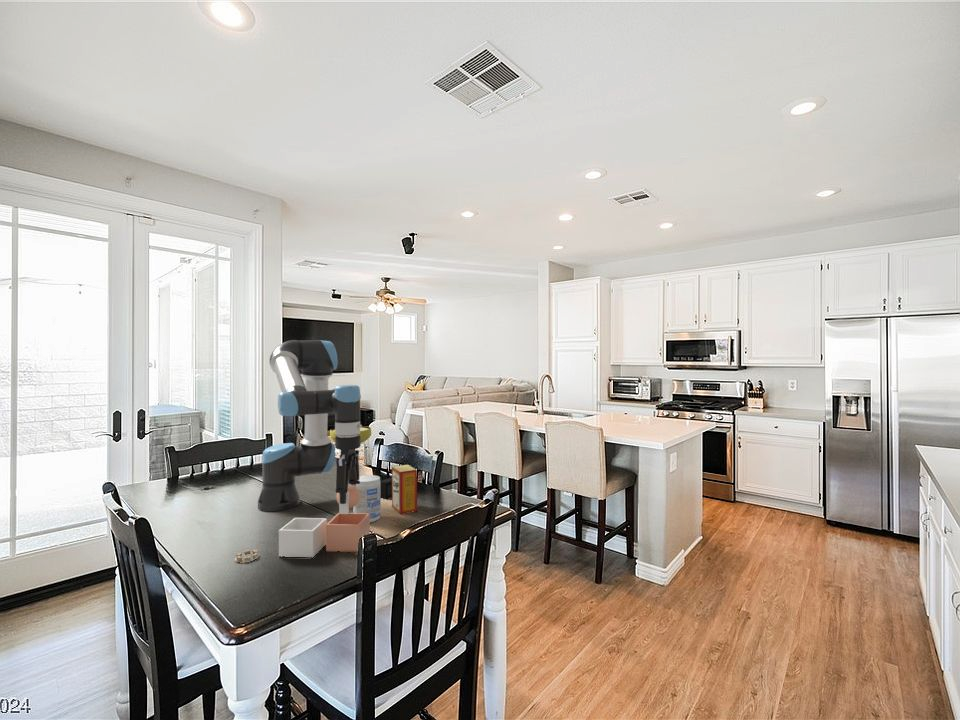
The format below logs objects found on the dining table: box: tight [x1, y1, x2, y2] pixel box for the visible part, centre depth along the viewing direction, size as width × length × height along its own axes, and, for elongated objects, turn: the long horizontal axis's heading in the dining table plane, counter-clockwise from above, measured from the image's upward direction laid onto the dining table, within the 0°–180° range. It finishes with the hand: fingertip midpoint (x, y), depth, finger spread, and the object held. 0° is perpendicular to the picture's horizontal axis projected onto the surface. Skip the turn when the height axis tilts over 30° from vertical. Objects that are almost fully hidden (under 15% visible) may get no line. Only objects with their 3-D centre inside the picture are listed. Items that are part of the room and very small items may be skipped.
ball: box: [336, 485, 360, 509], centre depth 142 cm, size 7×7×7 cm
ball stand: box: [234, 549, 259, 564], centre depth 133 cm, size 6×6×1 cm
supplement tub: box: [352, 474, 382, 523], centre depth 164 cm, size 10×10×15 cm
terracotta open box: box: [325, 512, 371, 553], centre depth 142 cm, size 10×10×8 cm
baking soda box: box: [391, 464, 418, 515], centre depth 175 cm, size 10×6×16 cm
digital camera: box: [380, 477, 392, 500], centre depth 191 cm, size 10×5×7 cm, turn 143°
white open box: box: [278, 517, 328, 559], centre depth 138 cm, size 10×10×8 cm
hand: (348, 509), depth 142 cm, fingers closed on ball, 7 cm apart
